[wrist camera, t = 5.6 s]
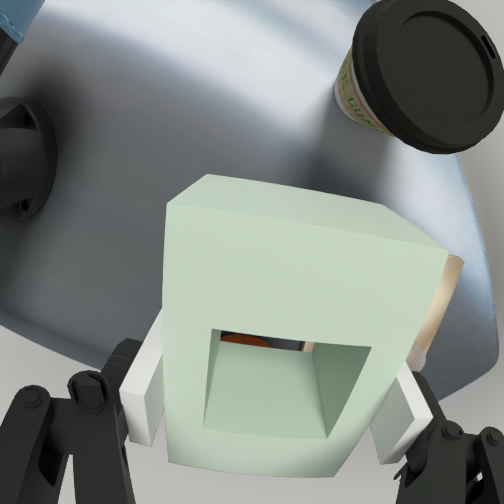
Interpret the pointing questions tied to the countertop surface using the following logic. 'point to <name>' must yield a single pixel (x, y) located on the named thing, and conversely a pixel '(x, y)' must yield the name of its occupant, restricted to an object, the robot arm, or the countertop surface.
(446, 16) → the coffee cup
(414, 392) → the robot arm
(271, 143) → the countertop surface
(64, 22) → the countertop surface
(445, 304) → the post base
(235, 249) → the green block with window
